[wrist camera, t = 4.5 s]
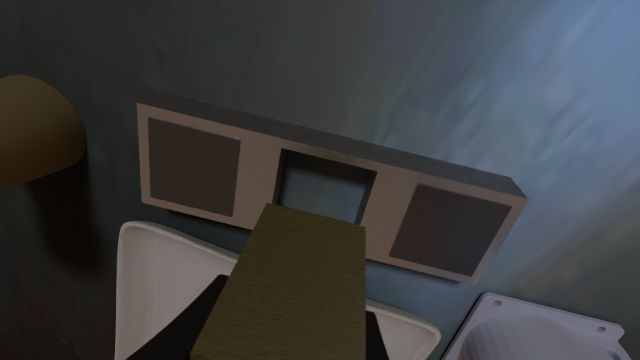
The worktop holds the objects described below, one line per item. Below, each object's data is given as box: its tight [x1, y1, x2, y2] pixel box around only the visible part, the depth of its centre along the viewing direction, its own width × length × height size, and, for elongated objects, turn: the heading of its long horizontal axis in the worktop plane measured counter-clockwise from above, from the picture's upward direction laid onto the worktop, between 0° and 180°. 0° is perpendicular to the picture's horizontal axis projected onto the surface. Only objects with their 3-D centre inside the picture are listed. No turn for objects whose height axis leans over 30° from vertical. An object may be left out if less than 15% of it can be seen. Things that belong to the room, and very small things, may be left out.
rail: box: [137, 92, 529, 286], centre depth 19 cm, size 20×6×2 cm, turn 78°
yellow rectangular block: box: [190, 203, 366, 360], centre depth 11 cm, size 4×4×6 cm
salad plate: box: [115, 221, 441, 360], centre depth 26 cm, size 21×21×3 cm
